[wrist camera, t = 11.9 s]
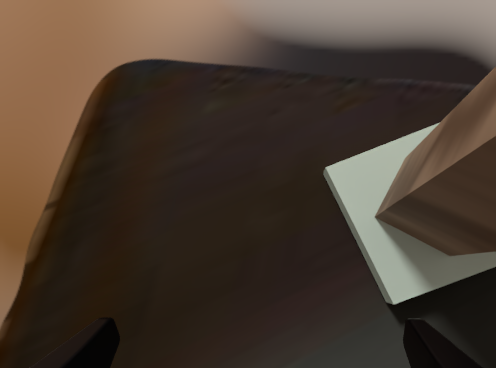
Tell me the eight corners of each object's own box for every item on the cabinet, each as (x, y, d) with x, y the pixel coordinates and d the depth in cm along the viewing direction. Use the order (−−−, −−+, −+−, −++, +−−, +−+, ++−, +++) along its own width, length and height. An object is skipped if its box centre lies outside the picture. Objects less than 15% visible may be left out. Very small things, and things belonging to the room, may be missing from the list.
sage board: (527, 249, 18) (547, 247, 17) (386, 302, 19) (393, 304, 17) (442, 127, 22) (452, 117, 20) (323, 174, 22) (325, 167, 21)
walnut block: (449, 256, 18) (804, 220, 5) (374, 216, 19) (521, 118, 7) (479, 190, 19) (839, 34, 6) (405, 158, 20) (582, -22, 8)
